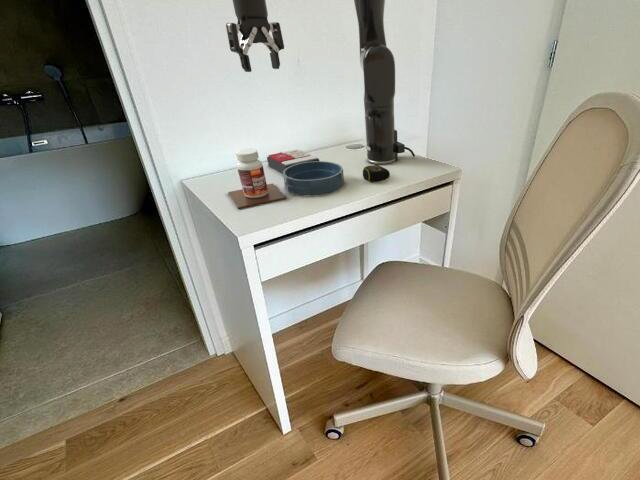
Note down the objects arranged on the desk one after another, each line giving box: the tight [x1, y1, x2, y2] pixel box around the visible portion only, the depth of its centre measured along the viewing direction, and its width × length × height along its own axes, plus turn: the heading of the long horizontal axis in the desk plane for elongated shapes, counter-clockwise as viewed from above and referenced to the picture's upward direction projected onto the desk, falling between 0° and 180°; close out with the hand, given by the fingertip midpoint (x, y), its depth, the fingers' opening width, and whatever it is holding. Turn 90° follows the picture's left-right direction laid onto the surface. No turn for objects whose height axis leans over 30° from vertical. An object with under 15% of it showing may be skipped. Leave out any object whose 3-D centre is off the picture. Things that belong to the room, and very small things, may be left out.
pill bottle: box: [235, 148, 268, 198], centre depth 100 cm, size 6×6×11 cm
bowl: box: [282, 160, 345, 197], centre depth 108 cm, size 16×16×4 cm
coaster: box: [227, 182, 287, 210], centre depth 103 cm, size 12×12×1 cm
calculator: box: [266, 149, 320, 175], centre depth 121 cm, size 11×4×15 cm
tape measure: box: [362, 164, 391, 183], centre depth 112 cm, size 7×7×4 cm
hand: (262, 70), depth 101 cm, fingers open, 8 cm apart
